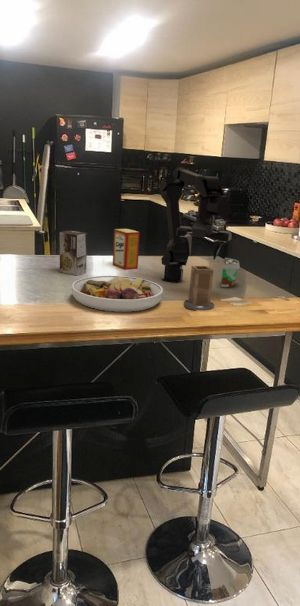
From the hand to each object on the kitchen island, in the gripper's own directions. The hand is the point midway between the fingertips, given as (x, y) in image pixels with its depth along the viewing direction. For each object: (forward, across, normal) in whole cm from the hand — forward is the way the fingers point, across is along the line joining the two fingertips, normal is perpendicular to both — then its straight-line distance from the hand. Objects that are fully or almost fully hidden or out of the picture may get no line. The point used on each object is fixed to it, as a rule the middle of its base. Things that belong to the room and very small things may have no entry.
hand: (201, 257), depth 176 cm
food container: (+13, +8, +16) cm, 22 cm away
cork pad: (+13, +15, -5) cm, 20 cm away
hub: (+13, +5, -17) cm, 22 cm away
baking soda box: (+13, -39, +22) cm, 47 cm away
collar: (+12, +5, -17) cm, 21 cm away
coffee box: (+13, -52, 0) cm, 54 cm away
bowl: (+14, -21, -25) cm, 35 cm away
